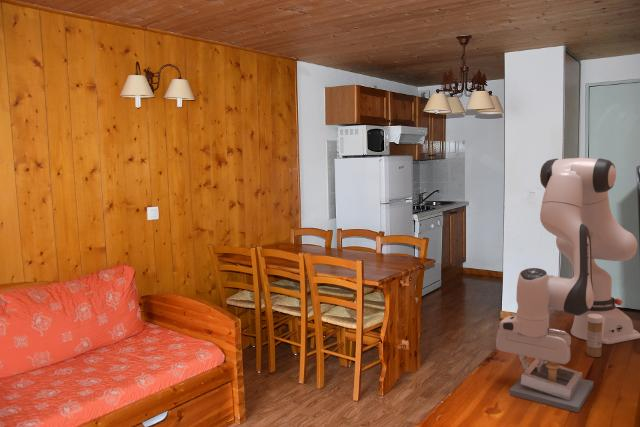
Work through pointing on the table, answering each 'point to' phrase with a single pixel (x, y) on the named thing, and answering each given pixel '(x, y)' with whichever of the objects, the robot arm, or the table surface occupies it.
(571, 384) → the ring link
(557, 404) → the keeper board
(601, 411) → the table surface
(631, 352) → the table surface
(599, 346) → the sprinkles bottle
